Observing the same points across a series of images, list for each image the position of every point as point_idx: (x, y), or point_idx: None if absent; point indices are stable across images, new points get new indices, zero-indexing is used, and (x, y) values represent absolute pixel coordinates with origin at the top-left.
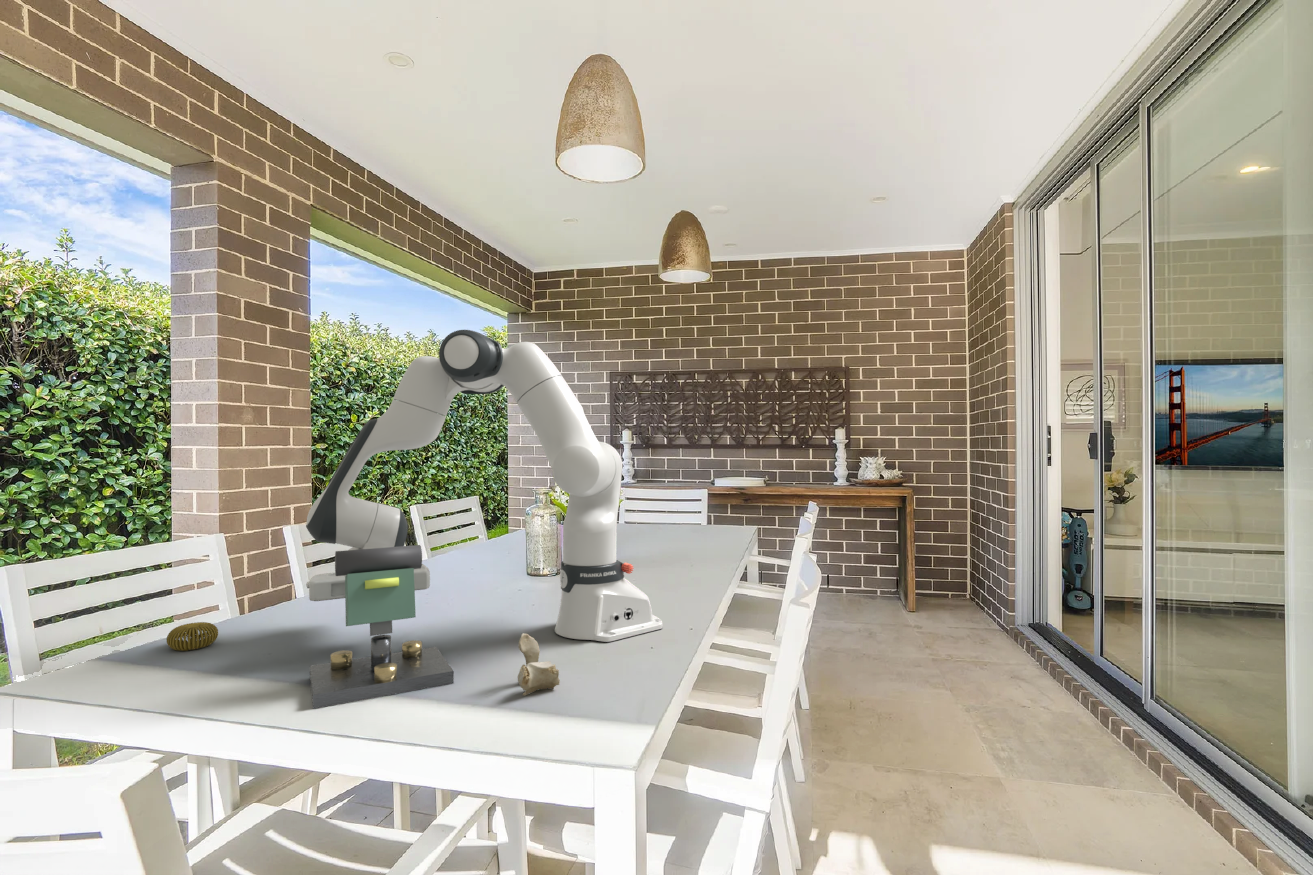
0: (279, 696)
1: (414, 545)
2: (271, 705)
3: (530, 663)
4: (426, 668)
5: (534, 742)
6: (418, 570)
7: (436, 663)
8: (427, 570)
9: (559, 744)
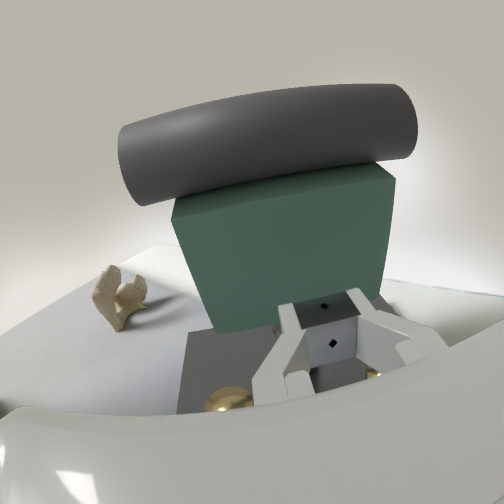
0: (444, 337)
1: (143, 119)
2: (435, 316)
3: (125, 282)
4: (222, 347)
5: (184, 257)
6: (33, 424)
7: (201, 363)
8: (5, 417)
9: (173, 255)
